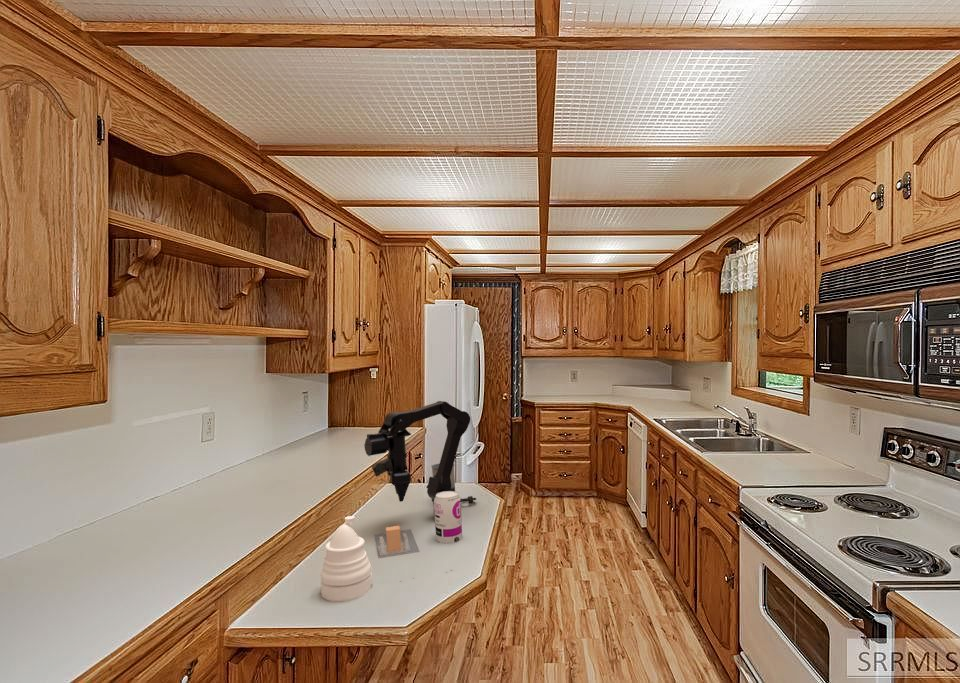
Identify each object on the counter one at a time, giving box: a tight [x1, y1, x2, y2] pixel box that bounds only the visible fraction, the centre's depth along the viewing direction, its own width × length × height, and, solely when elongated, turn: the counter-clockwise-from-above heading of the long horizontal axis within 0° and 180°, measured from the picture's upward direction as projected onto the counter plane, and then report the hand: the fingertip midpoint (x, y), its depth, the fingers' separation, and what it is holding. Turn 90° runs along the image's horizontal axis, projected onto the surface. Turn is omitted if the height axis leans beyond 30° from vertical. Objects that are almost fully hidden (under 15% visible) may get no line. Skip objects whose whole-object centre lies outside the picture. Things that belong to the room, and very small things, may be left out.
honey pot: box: [320, 515, 373, 602], centre depth 135 cm, size 13×13×18 cm
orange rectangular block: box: [385, 525, 401, 551], centre depth 156 cm, size 4×3×6 cm
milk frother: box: [431, 463, 477, 505], centre depth 201 cm, size 14×16×15 cm
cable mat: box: [373, 528, 421, 559], centre depth 161 cm, size 12×20×1 cm, turn 15°
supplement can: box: [433, 491, 463, 544], centre depth 163 cm, size 8×8×15 cm
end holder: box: [378, 533, 411, 557], centre depth 156 cm, size 9×7×4 cm
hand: (399, 497), depth 172 cm, fingers open, 9 cm apart
